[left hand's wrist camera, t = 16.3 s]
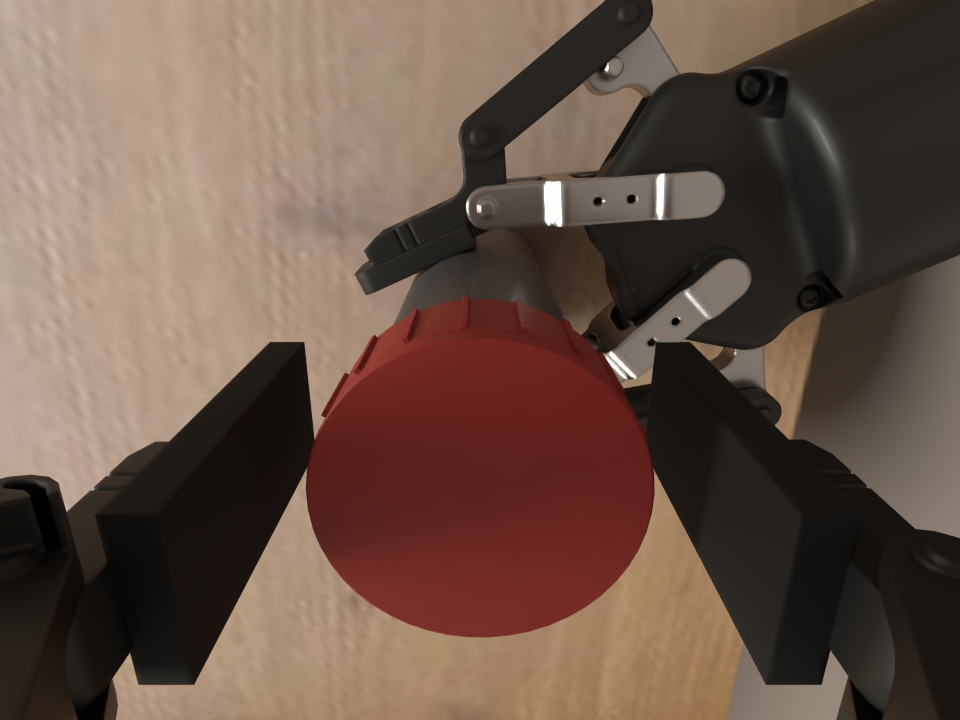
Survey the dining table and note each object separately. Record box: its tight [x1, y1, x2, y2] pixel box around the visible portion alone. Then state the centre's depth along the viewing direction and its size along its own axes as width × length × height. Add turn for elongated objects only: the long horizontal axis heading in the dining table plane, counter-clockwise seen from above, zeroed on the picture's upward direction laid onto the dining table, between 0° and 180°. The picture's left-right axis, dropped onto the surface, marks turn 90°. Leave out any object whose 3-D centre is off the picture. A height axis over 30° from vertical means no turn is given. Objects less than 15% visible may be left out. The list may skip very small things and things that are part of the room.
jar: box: [394, 228, 564, 324], centre depth 18 cm, size 5×5×16 cm
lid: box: [306, 296, 654, 637], centre depth 11 cm, size 6×6×2 cm
